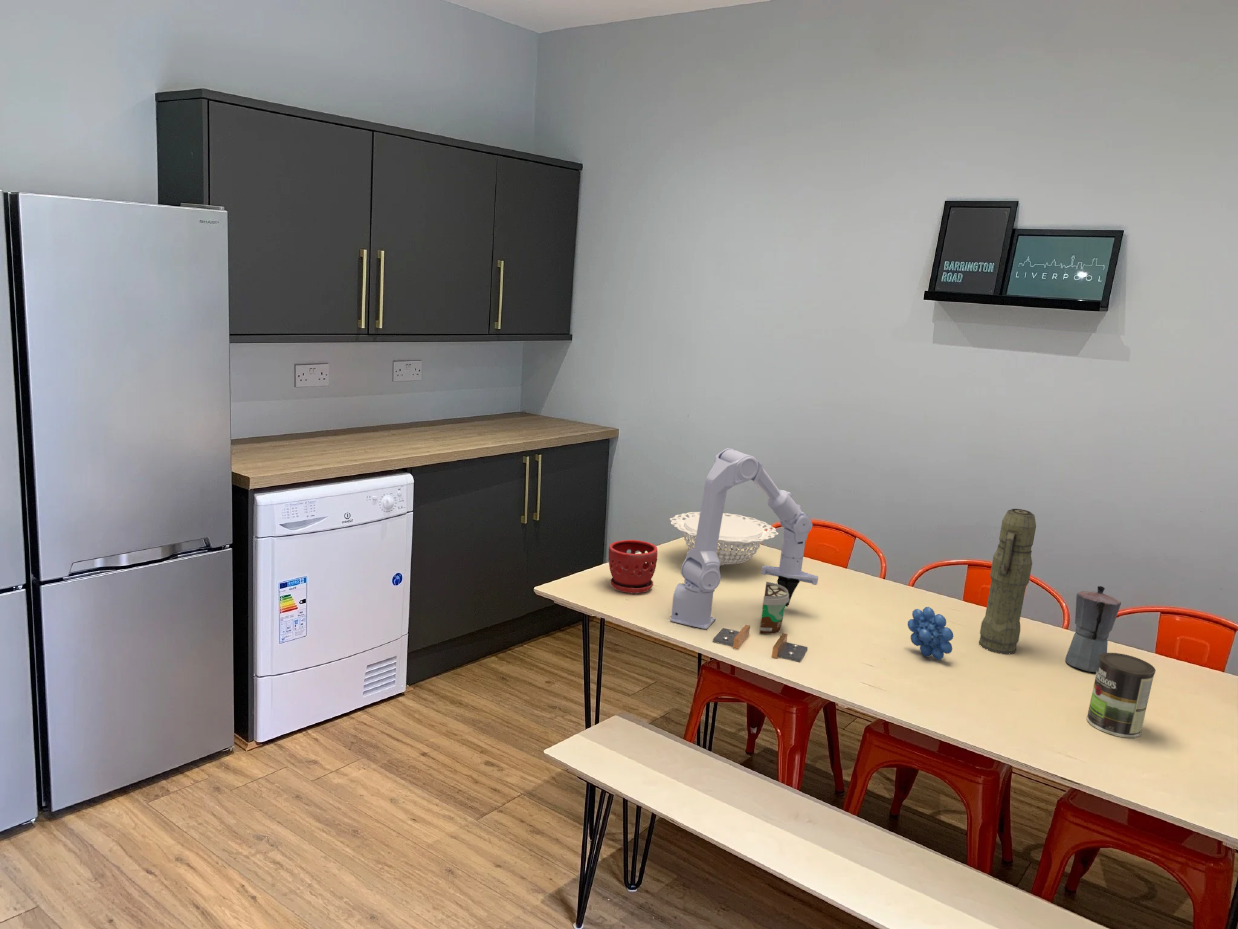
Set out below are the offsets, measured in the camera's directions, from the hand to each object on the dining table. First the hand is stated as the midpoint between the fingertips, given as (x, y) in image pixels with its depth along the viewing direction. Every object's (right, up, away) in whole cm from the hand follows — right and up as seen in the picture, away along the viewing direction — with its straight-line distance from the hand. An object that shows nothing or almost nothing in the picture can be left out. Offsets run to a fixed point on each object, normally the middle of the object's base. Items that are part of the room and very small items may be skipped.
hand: (785, 605), depth 241 cm
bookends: (-10, -6, -24) cm, 26 cm away
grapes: (+29, -9, -22) cm, 38 cm away
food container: (-5, -4, -12) cm, 14 cm away
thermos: (+51, -9, -12) cm, 53 cm away
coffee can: (+59, -18, -50) cm, 79 cm away
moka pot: (+69, -12, -20) cm, 72 cm away
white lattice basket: (-14, +6, +34) cm, 37 cm away
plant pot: (-41, +3, +9) cm, 42 cm away
